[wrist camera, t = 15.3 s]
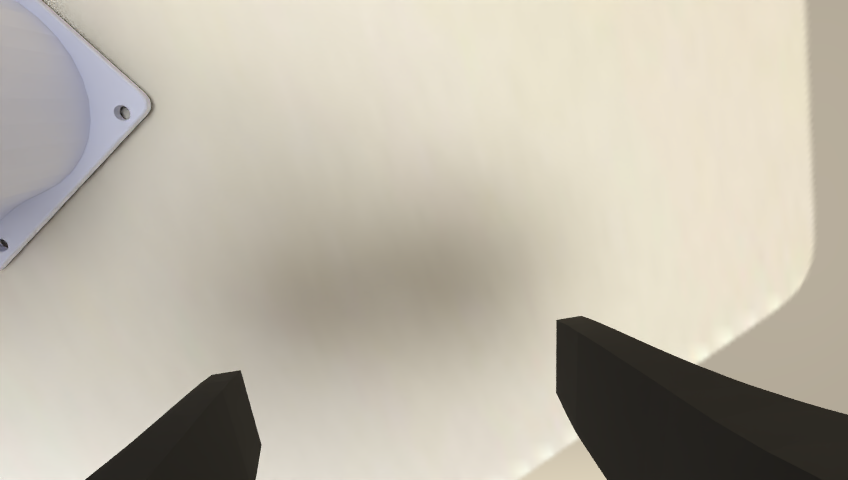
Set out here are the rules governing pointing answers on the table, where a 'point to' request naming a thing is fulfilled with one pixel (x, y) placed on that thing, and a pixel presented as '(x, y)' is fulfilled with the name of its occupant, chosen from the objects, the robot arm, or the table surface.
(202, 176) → the table surface
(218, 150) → the table surface
